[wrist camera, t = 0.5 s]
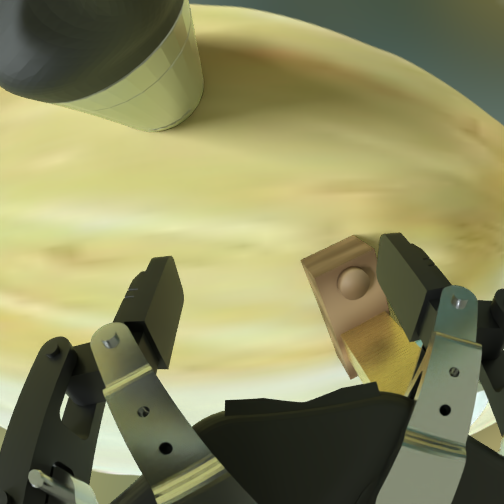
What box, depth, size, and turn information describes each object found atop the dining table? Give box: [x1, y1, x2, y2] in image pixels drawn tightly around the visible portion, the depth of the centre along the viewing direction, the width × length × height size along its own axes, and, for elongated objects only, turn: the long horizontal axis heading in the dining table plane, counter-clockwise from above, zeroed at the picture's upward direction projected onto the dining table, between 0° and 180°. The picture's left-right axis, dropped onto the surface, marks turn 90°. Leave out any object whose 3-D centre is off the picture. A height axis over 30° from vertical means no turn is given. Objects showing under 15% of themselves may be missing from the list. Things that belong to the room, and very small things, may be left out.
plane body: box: [301, 235, 390, 379], centre depth 31 cm, size 15×6×6 cm, turn 24°
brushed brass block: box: [340, 311, 421, 396], centre depth 24 cm, size 4×6×11 cm
